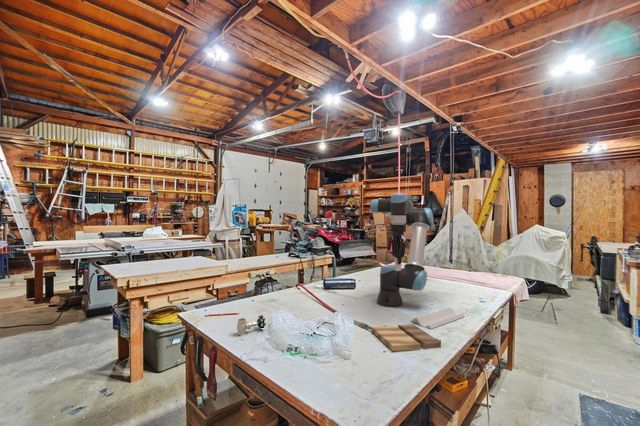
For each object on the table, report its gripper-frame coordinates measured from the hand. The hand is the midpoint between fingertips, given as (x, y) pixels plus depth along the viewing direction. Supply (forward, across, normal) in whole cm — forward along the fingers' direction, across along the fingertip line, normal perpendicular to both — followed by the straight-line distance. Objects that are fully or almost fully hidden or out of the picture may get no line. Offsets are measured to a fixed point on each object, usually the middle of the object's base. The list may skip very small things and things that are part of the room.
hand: (397, 270), depth 145 cm
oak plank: (+25, +21, -13) cm, 35 cm away
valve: (+25, +1, -73) cm, 77 cm away
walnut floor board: (+25, +21, -2) cm, 33 cm away
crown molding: (+27, +2, +22) cm, 35 cm away
